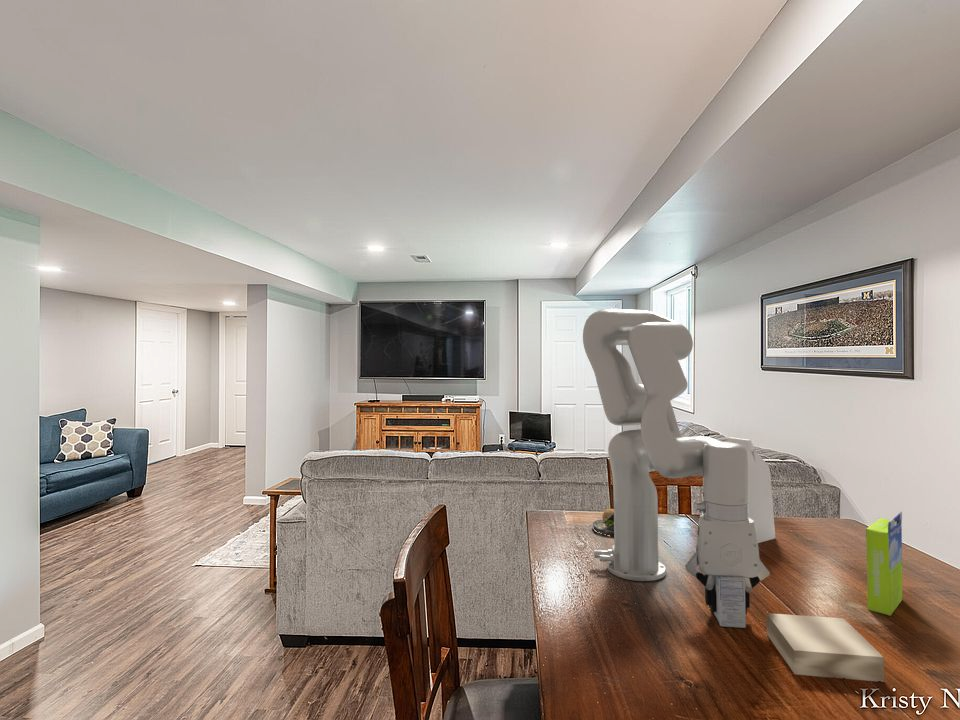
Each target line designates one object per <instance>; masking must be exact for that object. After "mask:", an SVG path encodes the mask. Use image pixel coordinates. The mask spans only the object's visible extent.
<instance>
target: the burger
mask: <svg viewBox="0 0 960 720" xmlns="http://www.w3.org/2000/svg"><path fill="white" fill-rule="evenodd" d="M604 504H605V508H606V509H605V510H604V512H603V514H602V519H597V520H595V521H593V523H592V526H593V527H594V529H595V530H596V531H597V532H600V533H602V534H606V535H610V536H612V537H613V536H614V508H607V505H606V503H604Z"/></svg>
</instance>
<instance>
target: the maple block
mask: <svg viewBox="0 0 960 720" xmlns="http://www.w3.org/2000/svg"><path fill="white" fill-rule="evenodd" d="M766 635H767V637H768V638H769V639H770V641H771V642H772V644H773V645H774V646H775V648H776V649H777V651H778V652H779V654H780V655H781V657H782V659H783V660H784V661H785V663H786V664H787V665H788V667H789V668H790V670H791V671H792V673H793V674H794V675H796V676H797V675H799V676H809V677H811V676H812V677H820V678H833V677H836V679H843V678H845V679H846V680H855V681H870V682H878V681H881V683H884V682H885V658H884V656H883V655H882V654H881V653H880V652H879V651H878V649H876V648H875V647H874V646H873V645H872V644H871V643H870V642H869V641H868V640H866V638H865V637H864V636H862V635H861V633H859V632H858V631H857V629H856V628H854V627H853V626H852V625H851V624H850V623H849V622H848V621H847V620H846V619H845V618H844V617H843V618H842V617H828V616H814V615H813V616H812V615H798V614H785V613H784V614H783V613H771V612H769V613H766ZM845 679H844V680H845Z"/></svg>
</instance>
